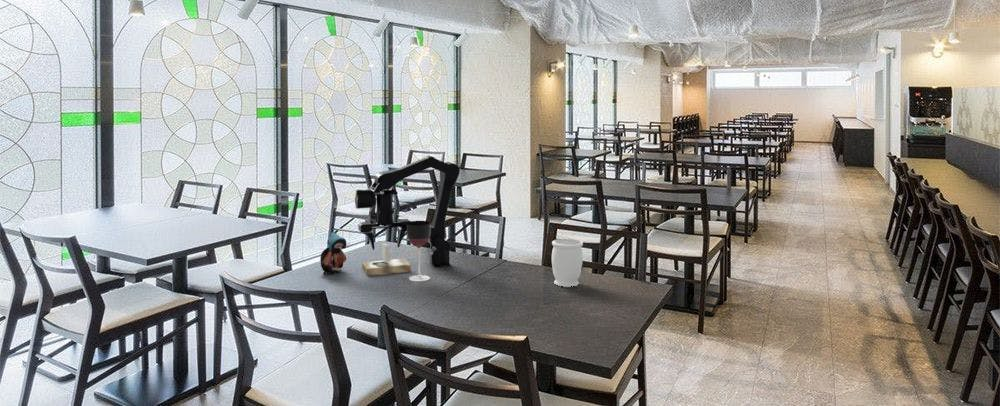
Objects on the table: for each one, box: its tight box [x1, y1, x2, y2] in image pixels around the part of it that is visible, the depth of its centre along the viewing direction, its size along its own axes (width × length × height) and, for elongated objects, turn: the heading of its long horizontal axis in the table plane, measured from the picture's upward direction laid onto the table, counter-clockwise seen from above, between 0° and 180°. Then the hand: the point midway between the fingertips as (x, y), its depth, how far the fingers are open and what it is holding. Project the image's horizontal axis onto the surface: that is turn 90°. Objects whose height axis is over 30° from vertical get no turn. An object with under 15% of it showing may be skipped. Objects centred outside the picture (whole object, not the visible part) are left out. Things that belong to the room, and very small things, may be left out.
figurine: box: [319, 230, 348, 276], centre depth 234 cm, size 10×7×15 cm
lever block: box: [361, 257, 412, 277], centre depth 238 cm, size 16×10×3 cm, turn 112°
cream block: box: [372, 242, 391, 264], centre depth 237 cm, size 6×6×7 cm
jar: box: [551, 238, 584, 288], centre depth 221 cm, size 11×10×15 cm
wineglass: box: [406, 220, 431, 282], centre depth 227 cm, size 8×9×20 cm
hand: (385, 248), depth 237 cm, fingers open, 9 cm apart
